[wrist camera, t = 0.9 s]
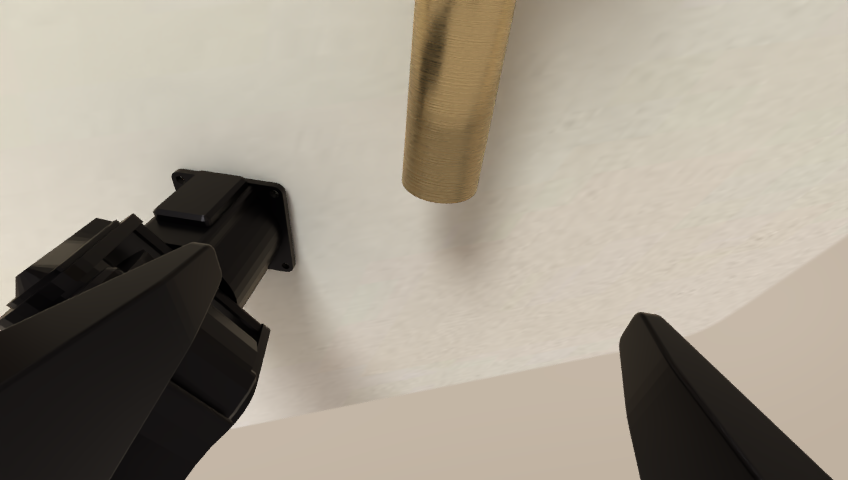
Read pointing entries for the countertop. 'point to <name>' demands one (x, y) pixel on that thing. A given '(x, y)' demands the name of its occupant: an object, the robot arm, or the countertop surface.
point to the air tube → (452, 94)
